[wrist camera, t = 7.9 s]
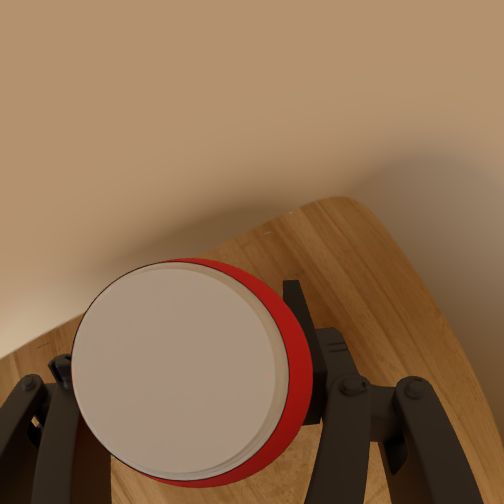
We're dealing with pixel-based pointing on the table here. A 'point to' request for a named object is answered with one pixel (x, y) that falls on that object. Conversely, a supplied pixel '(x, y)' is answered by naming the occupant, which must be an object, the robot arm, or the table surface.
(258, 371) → the beverage can
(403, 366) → the table surface
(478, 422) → the table surface
